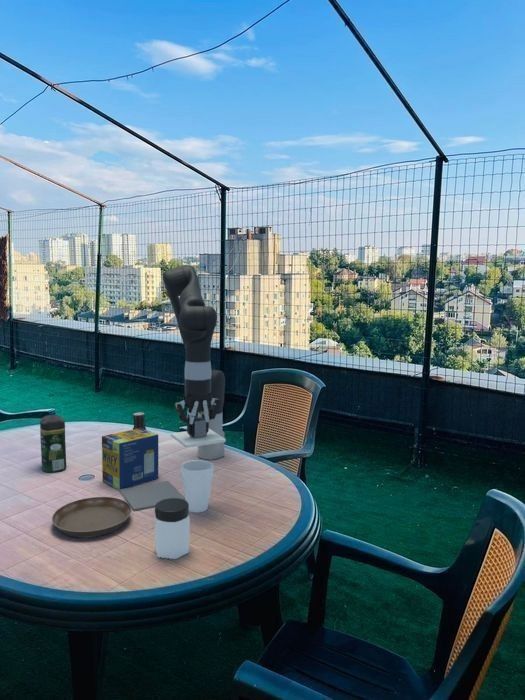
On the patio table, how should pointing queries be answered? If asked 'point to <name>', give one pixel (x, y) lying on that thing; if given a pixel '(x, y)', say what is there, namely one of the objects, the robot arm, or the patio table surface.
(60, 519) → the plant saucer
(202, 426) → the lid
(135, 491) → the mat
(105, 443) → the protein box
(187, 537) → the jar
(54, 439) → the coffee jar
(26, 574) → the patio table surface
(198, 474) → the foam cup
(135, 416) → the sauce bottle
